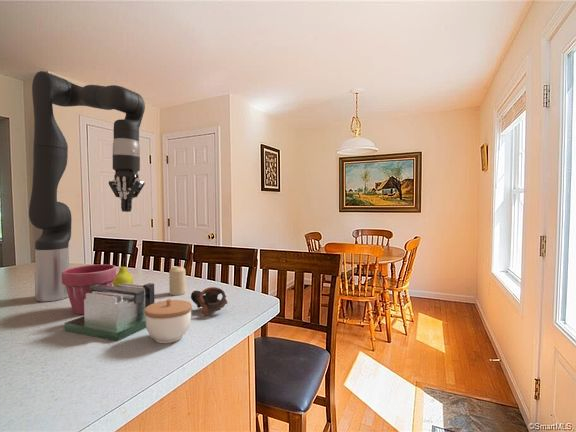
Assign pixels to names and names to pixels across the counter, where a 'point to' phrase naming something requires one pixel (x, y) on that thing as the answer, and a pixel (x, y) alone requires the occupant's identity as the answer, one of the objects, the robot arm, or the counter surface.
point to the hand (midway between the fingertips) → (126, 211)
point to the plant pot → (86, 282)
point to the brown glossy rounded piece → (209, 300)
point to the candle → (177, 280)
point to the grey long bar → (121, 291)
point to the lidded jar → (168, 320)
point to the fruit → (123, 277)
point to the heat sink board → (105, 330)
